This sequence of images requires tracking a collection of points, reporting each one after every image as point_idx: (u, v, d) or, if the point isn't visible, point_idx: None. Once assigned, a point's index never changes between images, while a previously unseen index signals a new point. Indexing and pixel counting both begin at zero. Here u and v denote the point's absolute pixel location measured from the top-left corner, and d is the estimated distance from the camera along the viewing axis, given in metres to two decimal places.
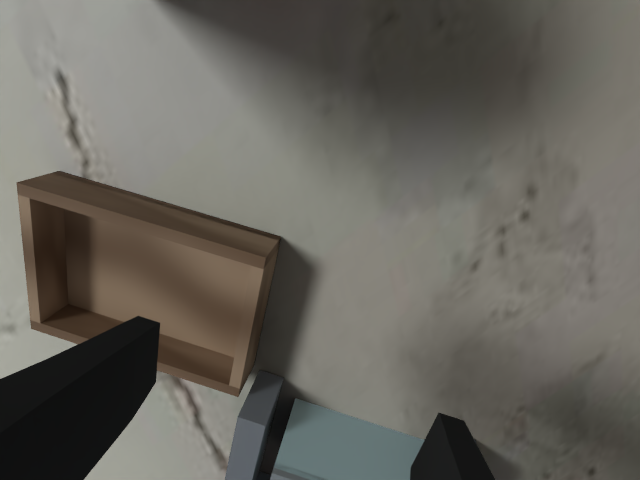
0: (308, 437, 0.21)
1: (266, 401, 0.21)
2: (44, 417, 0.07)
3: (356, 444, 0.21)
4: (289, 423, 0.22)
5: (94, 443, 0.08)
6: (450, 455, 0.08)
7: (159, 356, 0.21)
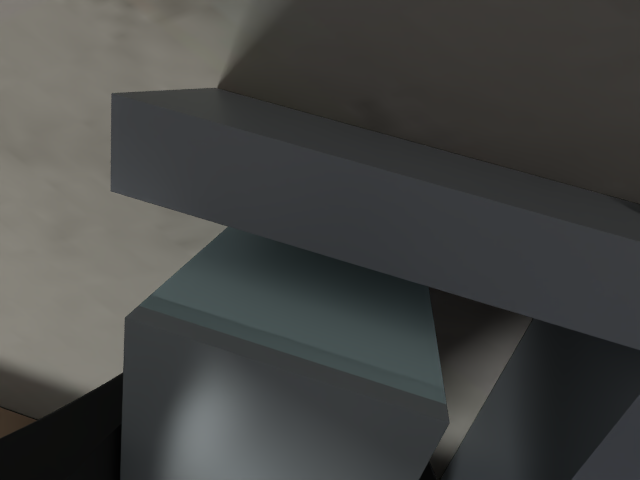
0: None
1: None
2: (116, 442, 0.06)
3: None
4: None
5: None
6: None
7: None
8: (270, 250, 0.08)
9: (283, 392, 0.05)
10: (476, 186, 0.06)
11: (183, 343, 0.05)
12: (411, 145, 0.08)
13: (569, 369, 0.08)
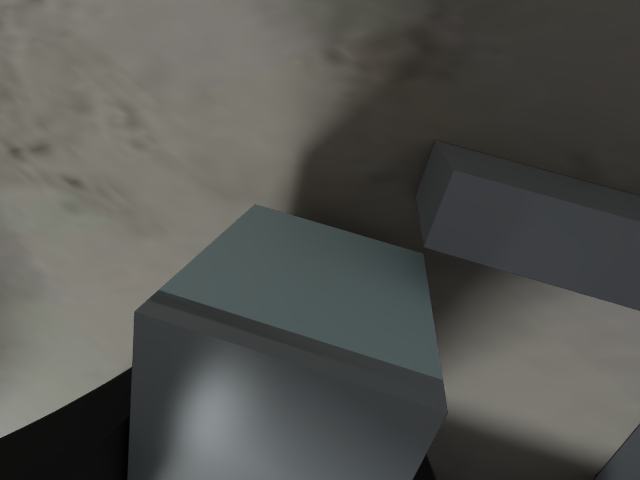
0: None
1: None
2: (116, 443, 0.06)
3: None
4: None
5: None
6: None
7: None
8: (274, 248, 0.08)
9: (287, 383, 0.05)
10: None
11: (190, 336, 0.05)
12: (628, 196, 0.09)
13: None
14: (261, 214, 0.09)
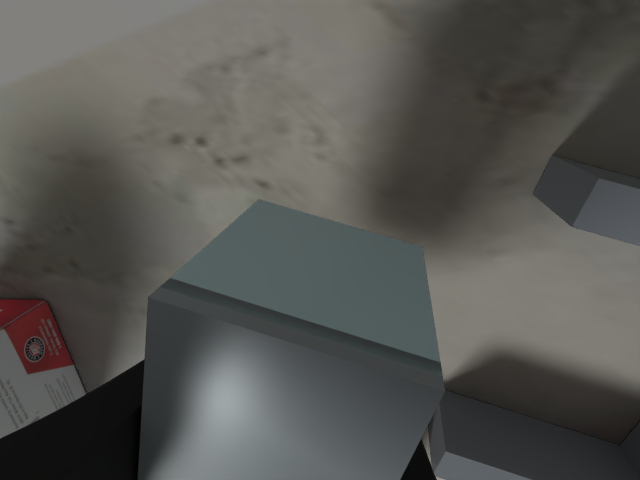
0: None
1: (438, 428, 0.17)
2: (116, 442, 0.06)
3: None
4: None
5: None
6: None
7: None
8: (278, 240, 0.08)
9: (293, 365, 0.06)
10: None
11: (201, 320, 0.06)
12: None
13: None
14: (265, 208, 0.10)
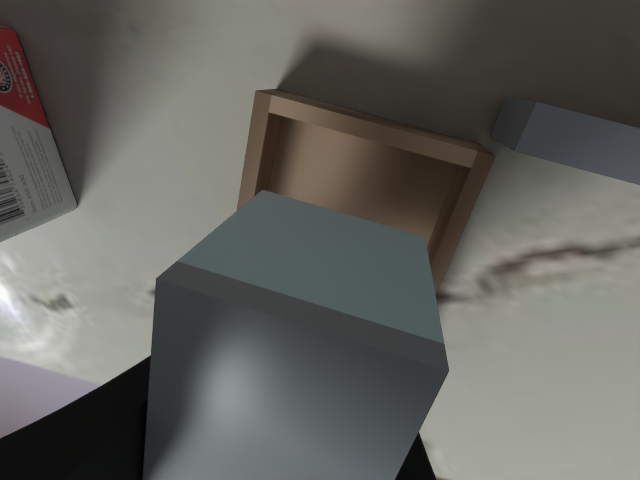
0: None
1: (516, 112, 0.13)
2: (116, 443, 0.06)
3: None
4: None
5: None
6: None
7: None
8: (282, 228, 0.08)
9: (299, 346, 0.06)
10: None
11: (208, 301, 0.06)
12: None
13: None
14: (269, 198, 0.10)
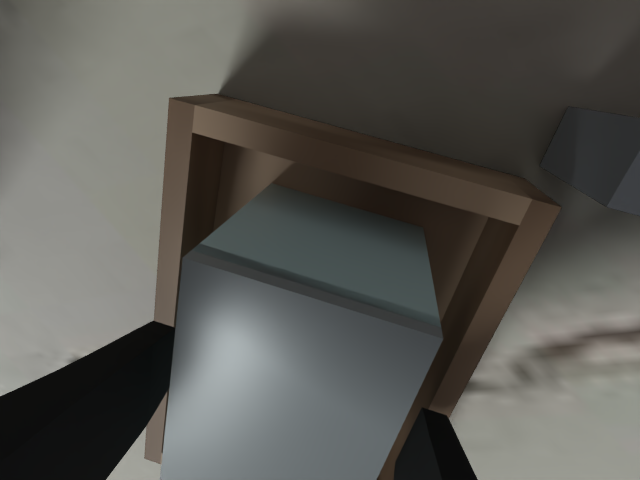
0: None
1: (598, 134, 0.08)
2: (67, 425, 0.06)
3: None
4: None
5: (111, 449, 0.08)
6: (430, 448, 0.08)
7: (444, 362, 0.10)
8: (291, 217, 0.09)
9: (310, 318, 0.06)
10: None
11: (229, 278, 0.06)
12: None
13: None
14: (278, 191, 0.10)
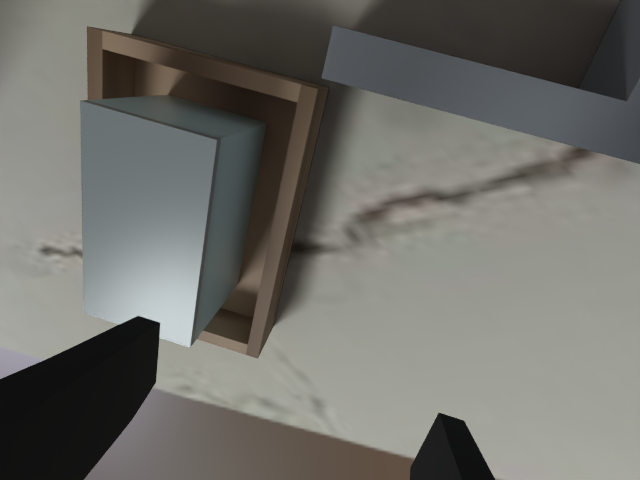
0: None
1: None
2: (45, 418, 0.07)
3: None
4: None
5: (94, 443, 0.08)
6: (450, 455, 0.08)
7: None
8: (167, 104, 0.14)
9: (149, 133, 0.12)
10: None
11: (106, 112, 0.12)
12: None
13: None
14: (169, 97, 0.16)
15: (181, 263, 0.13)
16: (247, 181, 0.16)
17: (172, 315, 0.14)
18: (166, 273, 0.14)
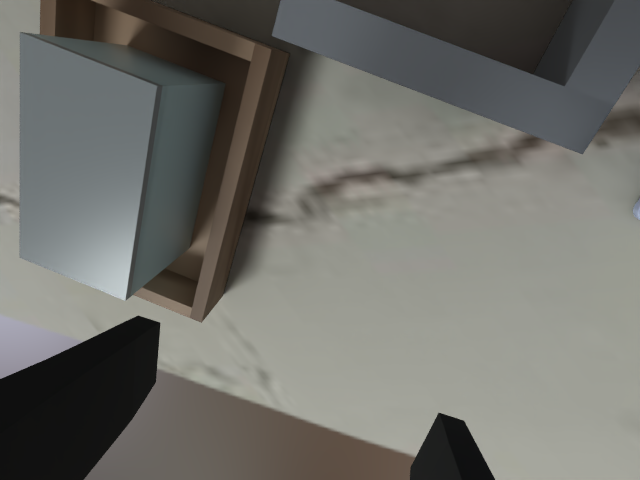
0: None
1: None
2: (45, 417, 0.07)
3: None
4: None
5: (94, 443, 0.08)
6: (450, 455, 0.08)
7: None
8: (120, 52, 0.14)
9: (90, 73, 0.11)
10: None
11: (46, 46, 0.11)
12: None
13: None
14: (127, 47, 0.15)
15: (118, 212, 0.13)
16: (200, 140, 0.16)
17: (108, 266, 0.14)
18: (103, 221, 0.13)
